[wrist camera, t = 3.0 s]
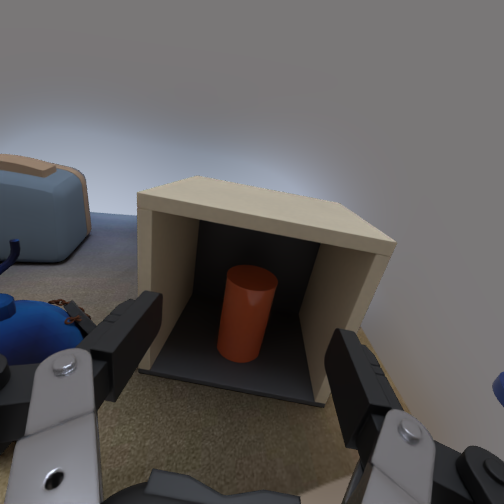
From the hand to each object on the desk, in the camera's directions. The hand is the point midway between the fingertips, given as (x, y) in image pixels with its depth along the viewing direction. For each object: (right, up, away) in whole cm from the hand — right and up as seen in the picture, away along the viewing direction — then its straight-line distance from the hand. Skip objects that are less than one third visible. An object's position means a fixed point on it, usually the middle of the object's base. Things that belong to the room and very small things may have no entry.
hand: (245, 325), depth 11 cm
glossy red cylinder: (-1, -8, +19) cm, 21 cm away
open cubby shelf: (-1, -8, +22) cm, 23 cm away
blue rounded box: (-41, +4, +34) cm, 54 cm away
